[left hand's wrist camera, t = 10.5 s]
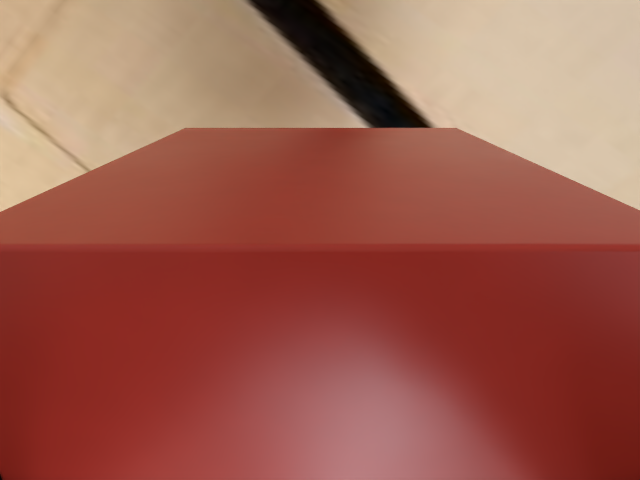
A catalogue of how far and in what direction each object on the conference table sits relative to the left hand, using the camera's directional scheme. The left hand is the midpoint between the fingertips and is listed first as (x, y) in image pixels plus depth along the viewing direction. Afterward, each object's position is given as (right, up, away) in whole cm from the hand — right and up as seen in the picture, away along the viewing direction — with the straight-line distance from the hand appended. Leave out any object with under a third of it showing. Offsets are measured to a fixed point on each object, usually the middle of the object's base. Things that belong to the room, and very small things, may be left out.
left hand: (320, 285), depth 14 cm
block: (0, +1, +2) cm, 2 cm away
